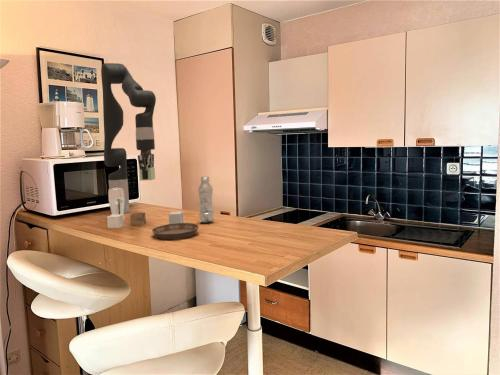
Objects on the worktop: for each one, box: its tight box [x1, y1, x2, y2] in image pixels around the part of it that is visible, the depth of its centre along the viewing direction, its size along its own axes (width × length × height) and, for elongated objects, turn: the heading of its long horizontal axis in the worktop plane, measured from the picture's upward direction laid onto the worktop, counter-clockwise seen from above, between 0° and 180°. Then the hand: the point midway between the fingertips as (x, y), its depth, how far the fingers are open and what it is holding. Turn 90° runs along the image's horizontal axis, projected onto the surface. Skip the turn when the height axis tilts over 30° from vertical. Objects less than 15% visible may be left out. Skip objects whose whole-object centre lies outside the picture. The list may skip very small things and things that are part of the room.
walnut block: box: [129, 212, 147, 227], centre depth 173 cm, size 5×5×5 cm
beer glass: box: [107, 188, 126, 222], centre depth 182 cm, size 7×7×15 cm
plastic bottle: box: [197, 176, 215, 224], centre depth 172 cm, size 6×7×20 cm
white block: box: [106, 214, 125, 229], centre depth 170 cm, size 5×5×5 cm
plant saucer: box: [151, 222, 200, 240], centre depth 152 cm, size 18×18×3 cm
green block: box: [138, 167, 156, 181], centre depth 168 cm, size 5×5×5 cm
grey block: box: [168, 211, 185, 224], centre depth 172 cm, size 5×5×5 cm
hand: (147, 178), depth 168 cm, fingers closed on green block, 5 cm apart
